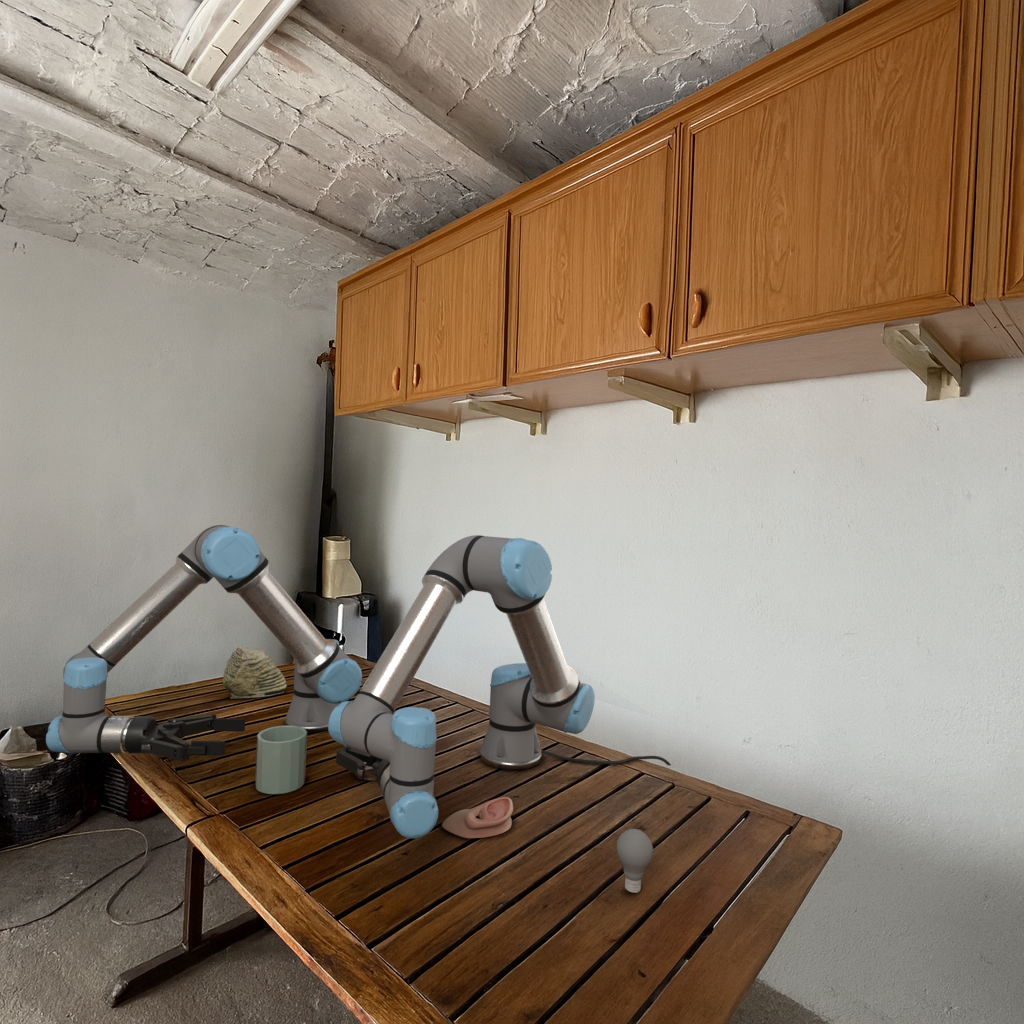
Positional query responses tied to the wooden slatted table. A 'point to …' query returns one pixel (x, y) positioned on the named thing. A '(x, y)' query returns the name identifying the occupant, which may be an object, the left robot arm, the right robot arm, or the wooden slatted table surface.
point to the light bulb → (634, 857)
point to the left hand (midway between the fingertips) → (235, 736)
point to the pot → (280, 759)
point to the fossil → (252, 674)
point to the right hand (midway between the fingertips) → (381, 738)
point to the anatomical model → (481, 819)
